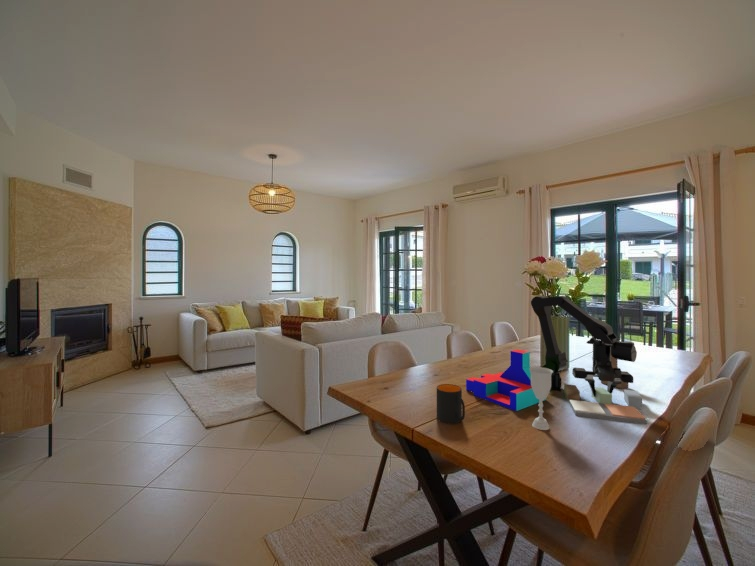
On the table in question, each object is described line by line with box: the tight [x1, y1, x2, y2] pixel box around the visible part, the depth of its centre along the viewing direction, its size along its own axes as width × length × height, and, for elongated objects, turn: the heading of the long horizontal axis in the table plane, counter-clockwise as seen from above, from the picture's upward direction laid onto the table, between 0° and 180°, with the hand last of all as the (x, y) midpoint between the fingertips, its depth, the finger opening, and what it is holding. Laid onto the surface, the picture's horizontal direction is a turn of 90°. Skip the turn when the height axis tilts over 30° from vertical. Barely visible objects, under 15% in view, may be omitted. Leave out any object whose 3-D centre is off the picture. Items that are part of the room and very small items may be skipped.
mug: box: [436, 383, 466, 425], centre depth 111 cm, size 8×12×10 cm
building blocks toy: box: [465, 349, 547, 412], centre depth 134 cm, size 19×25×18 cm
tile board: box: [568, 400, 648, 425], centre depth 116 cm, size 20×12×2 cm, turn 69°
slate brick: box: [623, 389, 643, 410], centre depth 124 cm, size 4×8×4 cm, turn 153°
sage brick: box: [591, 386, 613, 404], centre depth 128 cm, size 4×8×4 cm, turn 166°
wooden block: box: [600, 355, 629, 390], centre depth 145 cm, size 9×4×18 cm, turn 23°
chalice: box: [529, 366, 553, 431], centre depth 106 cm, size 7×7×18 cm
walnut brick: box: [563, 383, 581, 401], centre depth 131 cm, size 4×8×4 cm, turn 160°
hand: (601, 397), depth 128 cm, fingers closed on sage brick, 4 cm apart
